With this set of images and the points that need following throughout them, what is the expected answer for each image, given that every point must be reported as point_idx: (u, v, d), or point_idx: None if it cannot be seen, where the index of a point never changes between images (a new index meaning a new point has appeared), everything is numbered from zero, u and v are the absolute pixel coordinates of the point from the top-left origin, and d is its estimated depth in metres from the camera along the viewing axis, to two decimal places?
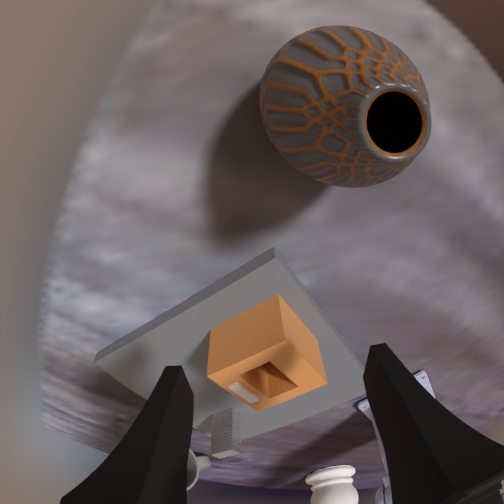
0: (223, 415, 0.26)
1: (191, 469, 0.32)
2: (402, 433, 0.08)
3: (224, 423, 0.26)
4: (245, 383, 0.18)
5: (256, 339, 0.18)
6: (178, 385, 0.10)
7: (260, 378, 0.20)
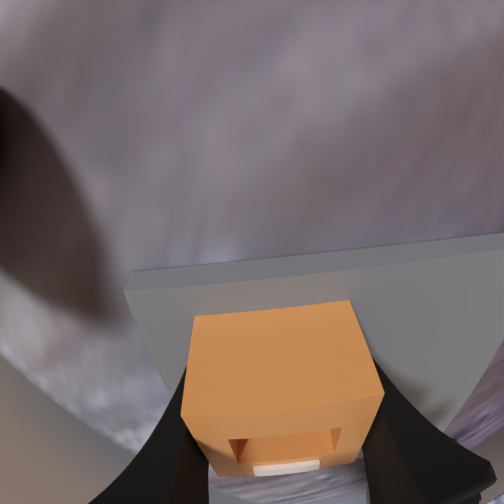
0: None
1: None
2: (378, 439, 0.08)
3: None
4: (264, 463, 0.09)
5: None
6: None
7: None
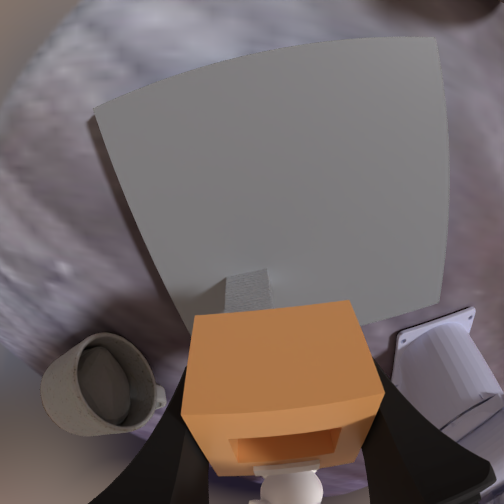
0: (249, 278, 0.18)
1: (142, 401, 0.22)
2: (378, 439, 0.08)
3: (252, 287, 0.17)
4: (264, 462, 0.09)
5: None
6: None
7: None
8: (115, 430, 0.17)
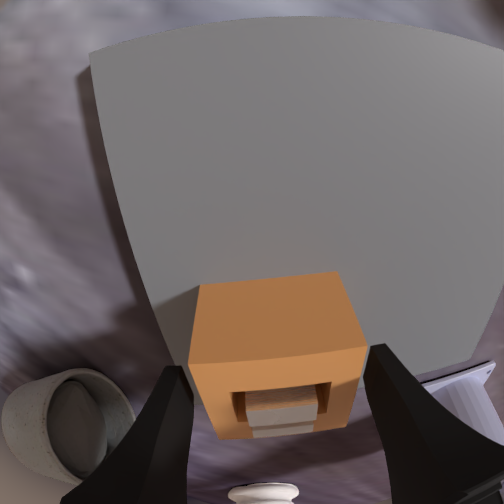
0: None
1: None
2: (402, 433, 0.08)
3: None
4: None
5: None
6: (178, 385, 0.10)
7: None
8: None
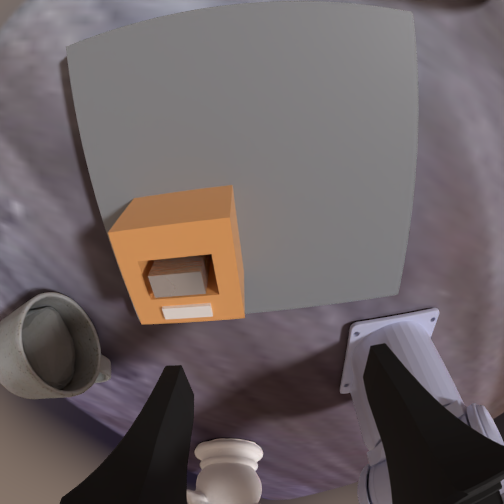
0: None
1: (86, 369, 0.21)
2: (402, 433, 0.08)
3: None
4: (169, 300, 0.15)
5: None
6: (178, 385, 0.10)
7: None
8: (52, 392, 0.16)
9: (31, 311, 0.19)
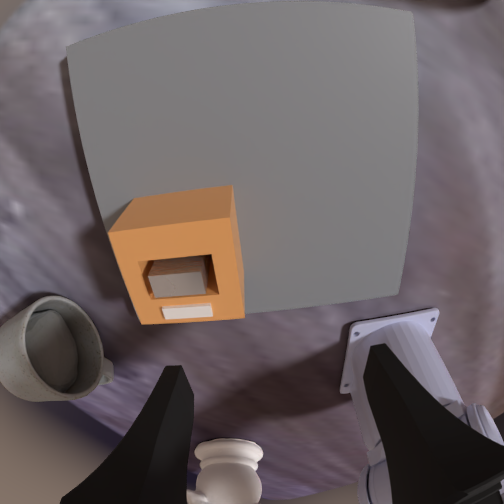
0: None
1: (89, 372, 0.21)
2: (402, 433, 0.08)
3: None
4: (169, 300, 0.15)
5: None
6: (178, 385, 0.10)
7: None
8: (56, 395, 0.16)
9: (34, 314, 0.19)
